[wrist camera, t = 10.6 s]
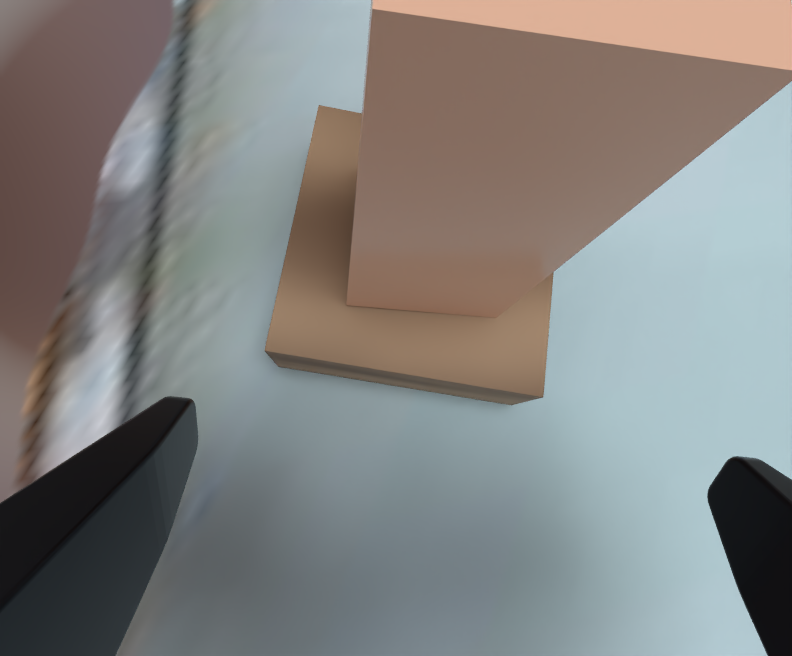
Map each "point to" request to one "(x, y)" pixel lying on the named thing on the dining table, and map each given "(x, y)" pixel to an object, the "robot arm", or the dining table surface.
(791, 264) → the dining table surface
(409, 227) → the tall peach box
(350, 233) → the brown flat block
